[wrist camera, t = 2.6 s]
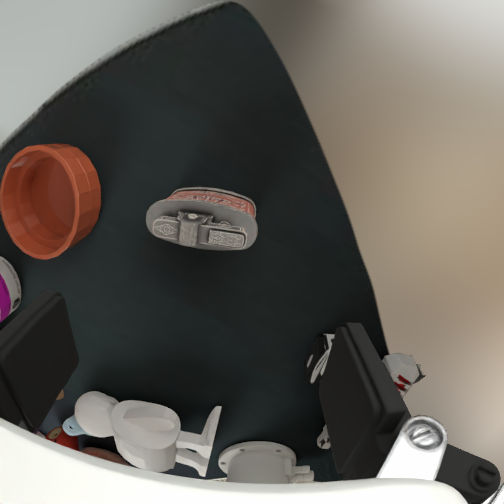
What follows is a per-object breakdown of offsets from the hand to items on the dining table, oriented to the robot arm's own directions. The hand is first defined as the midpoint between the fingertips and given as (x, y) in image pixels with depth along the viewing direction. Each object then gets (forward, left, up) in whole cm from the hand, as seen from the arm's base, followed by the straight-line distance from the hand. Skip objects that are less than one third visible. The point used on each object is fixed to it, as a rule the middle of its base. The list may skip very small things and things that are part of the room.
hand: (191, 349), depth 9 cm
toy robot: (+1, +30, -16) cm, 34 cm away
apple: (+28, +41, -20) cm, 54 cm away
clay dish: (+18, -1, -20) cm, 27 cm away
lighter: (+2, -1, -20) cm, 20 cm away
